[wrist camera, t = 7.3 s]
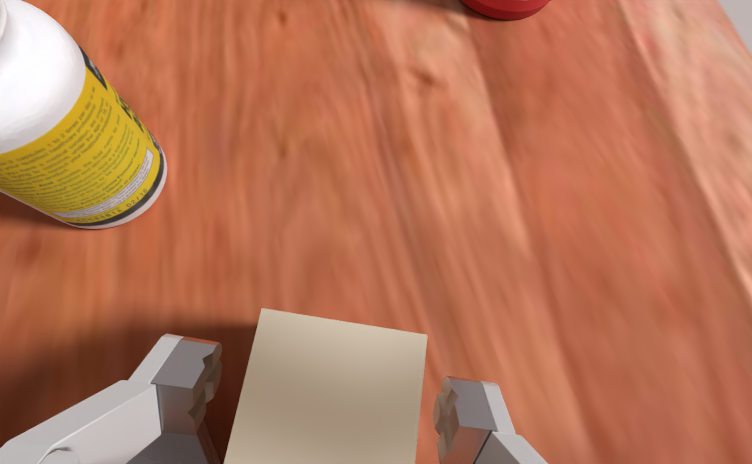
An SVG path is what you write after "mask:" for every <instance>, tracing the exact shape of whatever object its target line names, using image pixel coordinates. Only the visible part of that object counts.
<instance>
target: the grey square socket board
mask: <svg viewBox="0 0 752 464" xmlns="http://www.w3.org/2000/svg"><path fill="white" fill-rule="evenodd" d="M126 464H221V462H220V459H219V457H218V454H217V452H216V449H215V447H214V444H213V441H212V439H211V436H210V434H209V431H208V429H207V426H206V424H205V421H204V418H203V420H202V422H201V424H200V426H199V429H198V431H197V433H196V435H195V436H194V435H184V434H174V433H164V432H161V435H160V436H159V437H157V438H156V439H155V440H154V441H153V442H151V443H150V444H149V445H148V446H147V447H145V448H144V449H143V450H142V451H140V452H139V453H138V454H137V455H136V456H134V457H133V458H132V459H131V460H129V461H128V462H127V463H126Z"/></svg>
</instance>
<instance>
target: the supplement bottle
mask: <svg viewBox="0 0 752 464" xmlns="http://www.w3.org/2000/svg"><path fill="white" fill-rule="evenodd" d="M166 176H167V163H166V158H165V155H164V153H163V150H162V149H161V147H160V145H159V144H158V142H157V141H156V140H155V138H154V137H153V135H152V134H151V133H150V132H149V131H148V129H147V128H146V127H145V126H144V125H143V124H142V122H141V121H140V120H139V119H138V117H137V116H136V115H135V114H134V112H133V111H132V110H131V109H130V108H129V106H128V105H127V104H126V103H125V102H124V100H123V99H122V98H121V97H120V96H119V94H118V93H117V92H116V91H115V89H114V88H113V87H112V86H111V85H110V83H109V82H108V81H107V80H106V78H105V77H104V76H103V75H102V74H101V72H100V71H99V70H98V69H97V67H96V66H95V65H94V64H93V63H92V62H91V60H90V59H89V58H88V56H87V55H86V54H85V52H84V51H83V50H82V49H81V47H80V46H79V45H78V44H77V43H76V42H75V41H74V39H73V38H72V37H71V36H70V35H69V34H68V33H67V32H66V31H65V29H64V28H63V27H62V26H61V25H60V24H58V23H57V22H56V21H55V20H54V19H53V18H51V17H50V16H49V15H48V14H46V13H45V12H43V11H42V10H40V9H38V8H36V7H34V6H33V5H31V4H29V3H26V2H24V1H21V0H0V192H2V193H4V194H6V195H8V196H10V197H12V198H14V199H16V200H18V201H20V202H22V203H24V204H26V205H28V206H30V207H32V208H34V209H36V210H38V211H40V212H42V213H44V214H46V215H49V216H51V217H53V218H55V219H57V220H59V221H61V222H63V223H66V224H68V225H71V226H75V227H80V228H86V229H102V228H110V227H114V226H118V225H121V224H124V223H126V222H129V221H131V220H133V219H134V218H136V217H138V216H139V215H141V214H142V213H143V212H145V211H146V210H147V209H148V208H149V207H150V206H151V205H152V204H153V203H154V202H155V200H156V199H157V198H158V196H159V195H160V193H161V191H162V189H163V186H164V184H165V180H166Z"/></svg>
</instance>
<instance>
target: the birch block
mask: <svg viewBox="0 0 752 464" xmlns="http://www.w3.org/2000/svg"><path fill="white" fill-rule="evenodd" d="M426 345H427V335H425V334H418V333H412V332H406V331H400V330H394V329H387V328H381V327H375V326H369V325H363V324H356V323H350V322H344V321H338V320H332V319H326V318H319V317H313V316H307V315H301V314H295V313H288V312H282V311H276V310H270V309H264V308H262V309H261V313H260V317H259V321H258V326H257V330H256V334H255V338H254V342H253V346H252V350H251V354H250V358H249V362H248V366H247V370H246V375H245V379H244V383H243V387H242V391H241V395H240V399H239V403H238V407H237V411H236V415H235V419H234V423H233V428H232V432H231V436H230V440H229V444H228V448H227V452H226V456H225V460H224V464H415V457H416V447H417V437H418V426H419V416H420V406H421V396H422V386H423V376H424V365H425V355H426Z"/></svg>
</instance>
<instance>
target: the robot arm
mask: <svg viewBox="0 0 752 464" xmlns="http://www.w3.org/2000/svg"><path fill="white" fill-rule="evenodd" d="M221 354H222V343H220V342H214V341H208V340H203V339H197V338H191V337H186V336H185V337H184V336H178V335H172V334H167V333H166V334H165V335H163V336H162V337H161V338H160V339H159V340H158V341H157V343H156V344H155V345H154V347H153V348H152V349H151V351H150V352H149V353H148V354H147V356H146V357H145V358H144V360H143V361H142V362H141V364H140V365H139V366H138V367H137V369H136V370H135V371H134V373H133V374H132V375H131V377H130V378H129V379H128V380H120V381H119V382H117V383H115V384H113V385H111V386H109V387H107V388H106V389H104V390H102V391H100V392H98V393H96V394H94V395H93V396H91V397H89V398H87V399H85V400H83V401H81V402H80V403H78V404H76V405H74V406H72V407H70V408H68V409H67V410H65V411H63V412H61V413H59V414H57V415H55V416H54V417H52V418H50V419H48V420H46V421H44V422H42V423H41V424H39V425H37V426H35V427H33V428H31V429H29V430H28V431H26V432H24V433H22V434H20V435H18V436H16V437H15V438H13V439H11V440H9V441H7V442H6V443H5V444H4V445H3V446H2V447H1V448H0V464H126V463H127V462H128V461H129V460H131V459H132V458H133V457H134V456H136V455H137V454H138V453H139V452H140V451H142V450H143V449H144V448H145V447H147V446H148V445H149V444H150V443H151V442H153V441H154V440H155V439H156V438H157V437H159V436H160V435H161V432H164V433H174V434H184V435H194V436H195V435H196V433H197V431H198V429H199V426H200V424H201V422H202V420H203V418H204V416H205V414H206V403H207V402H208V401H210V400H211V399H213V397H214V395H215V393H216V391H217V389H218V386H219V382H220V379H221V374H222V363H221V362H220V360H219V358H220V356H221ZM442 390H443V392H441V393H440V394H438V395H437V398H436V401H435V405H434V412H433V413H434V427H435V430H436V431H437V432H438V434H439V435H440V438H439V440H438V442H437V448H438V455H439V461H440V464H548V463H547V462H546V461H545V460H544V459H543V458H542V457H541V456H540V455H539V454H538V453H537V452H536V451H535V450H534V449H533V447H532V446H531V445H530V444H529V443H528V442H527V441H526V440H525V439H524V438H523V437H522V436H521V435H516V433H515V430H514V427H513V425H512V422H511V419H510V416H509V414H508V411H507V408H506V405H505V402H504V400H503V397H502V394H501V391H500V388H499V386H498V385H497V384H496V383H493V382H486V381H478V380H472V379H465V378H458V377H450V376H446V377H445V378H444V380H443V382H442Z"/></svg>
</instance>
